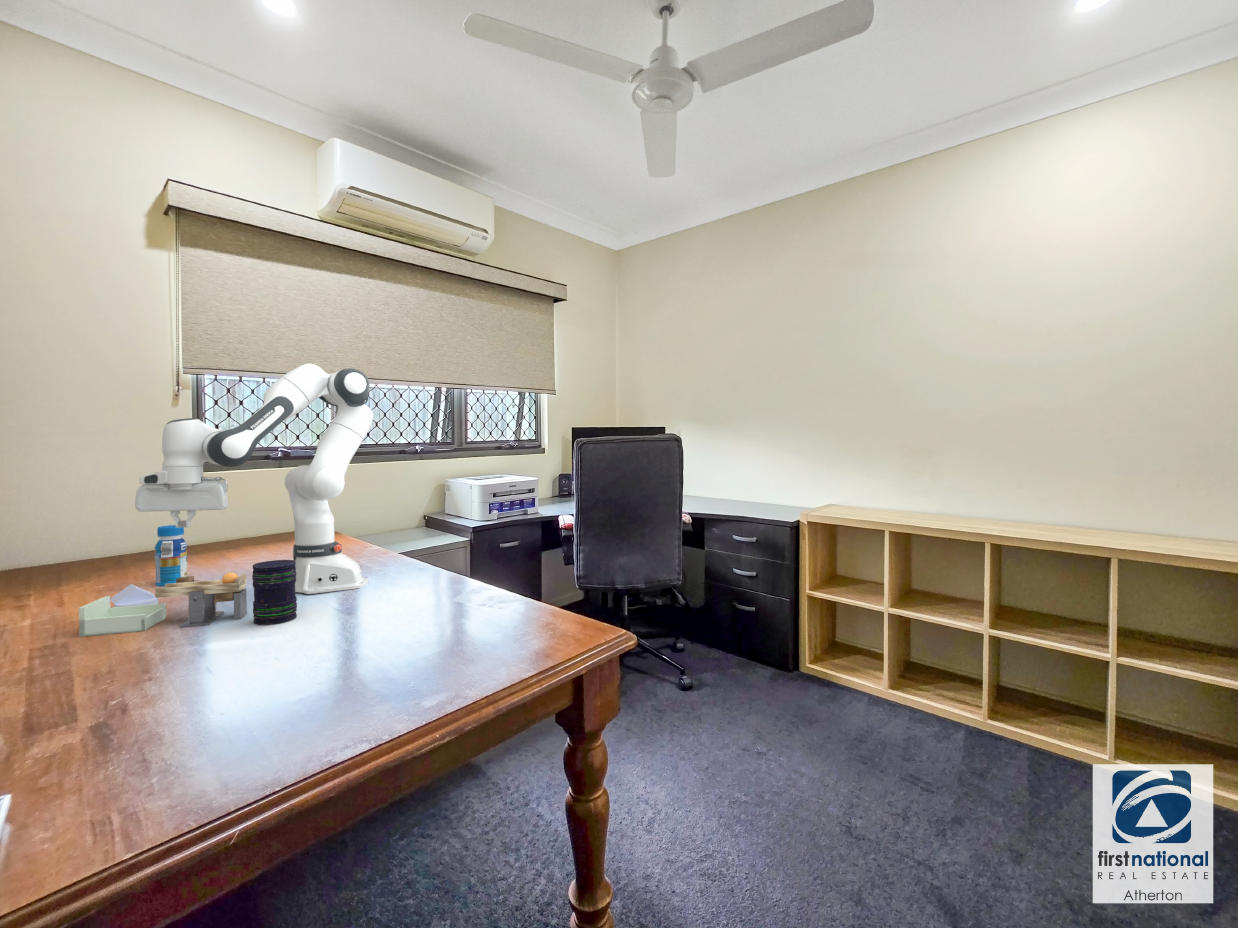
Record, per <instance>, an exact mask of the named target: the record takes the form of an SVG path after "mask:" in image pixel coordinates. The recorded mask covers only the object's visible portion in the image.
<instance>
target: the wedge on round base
mask: <svg viewBox="0 0 1238 928" xmlns="http://www.w3.org/2000/svg"><path fill="white" fill-rule="evenodd" d="M110 602H112V603H113V607H123V606H135V605H148V604H159V598H155V594H154V593H153V592H152V591H148V590H147V589H144V588H141V587H139V586H136V585H135V584H132V583H131V584H128V585H127V586H126V587H124V588H123V589H122V590H120V591H119V592H118V593H116V594H115V595H113V596H112V597H110Z"/></svg>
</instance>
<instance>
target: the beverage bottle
mask: <svg viewBox="0 0 1238 928" xmlns="http://www.w3.org/2000/svg"><path fill="white" fill-rule="evenodd" d="M156 529H157V533H156V534H157V537H158V538H159V539H158V540H157V542H156V543H155V545H154V550H155V554H154V563H155V586H156V587H165V584H170V583H176V579H178V578H180V577H188V555H189V554H188V553H189V552H188V550H187V547H188V544H187V542H186V540H185V539H184V538H183V536H184V535H185V527H180V528H176V524H172V525H171V524H169V525H162V526H161V525H160V526H158V527H157V528H156Z"/></svg>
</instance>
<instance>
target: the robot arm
mask: <svg viewBox="0 0 1238 928" xmlns="http://www.w3.org/2000/svg"><path fill="white" fill-rule="evenodd" d="M369 391H370V381H369V378H368V376H367V375H366V374H365V373H364V372H363V371H362V370H360V369H356V368H351V367H349V368H343V369H340V370H337V371H336V372H333V373H327V372H326V371H325V370H324V369H322V368H321V367H320V366H318V365H317V364H313V363H305V364H302V365H300V366H297V367H295V368H294V369H292V370H290V371H288V372H287V373H285V374H284V375H282V376H281V377H280V378H278V379H277V380H276V381H274V382H273V383H272V384H271V385H270V386H269V387H268V388H267V389H266V391H265V392H264V393H263V404H262V406H261V407H260V408H259V409H258V410H257V411H256V412H255V413H253V414H252V415H251V416H249V417H248V418H247V419H246V420H244V421H243V422H242V423H241V424H239V425H238V426H236V427H234V428H231V429H226V430H222V429H218V428H216V427H213V426H211V425H209V424H207V423H206V422H203V421H202V420H200V419H199V418H195V417H192V418H190V417H188V418H181V419H179V418H178V419H173V420H169V421H168V422H167V423H165V425H164V427H163V431H162V437H161V438H162V441H161V452H162V454H163V462H162V465H161V470H160V471H157V472H153V473H149V474H145V475H142V476H140V477H139V479H138V481H139V483H140V484H141V485H140V486H139V487H138V488H137V490H136V494H135V503H134V507H135V509H136V510H137V511H138V512H140V513H143V512H145V513H146V512H147V513H148V512H170V513H169V515H170V517H171V518H172V520H173V521H174V522H175V525H176V528H180V527H184V528H191V526H192V520H193V519H194V517H195V516H196V515H197V511H221V510H225V509H227V508H228V507H229V498H228V492H227V491H228V489H229V484H228V481H227V480H226V479H225V478H223V477H222V476H204V464H205V463H210V464H214V465H219V466H222V467H227V468H235V467H239V466H241V465H243V464H245V463H246V462H248V461H249V460H250V458H251V457H252V456H253V454H254V452H255V450H256V447H257V445H258V444H259V443H260V441H262V440H263V439H264V438H265V437H266V436H267V435H268V434H270V433H271V432H272V431H273V430H274V429H276V427H278V426H279V425H281V423H282V422H284V421H286V420H288V419H290V418H291V417H293V416H295V415H297V414H298V413H300V412H302V411H303V410H305V409H306V408H307V407H308V406H309V405H311V404H312V403H313V402H314V401H316V400H317V399H319V400H322V401H323V402H324V403H326V404H328V405H330V406H331V407H332V406H333V407H337V412H336V415H335V417H334V418H333V420H331V422H330V424H329V425H328V426H327V429H326V430H325V431H324V432H323V434H322V435H321V437H320V439H319V440H318V442H317V443H316V447H317V448H316V452H315V454H314V457H313V458H312V461H311V463H310V464H303V465H299V466H296V467H294V468H293V469H291V470H289V471H288V472H287V474H286V475H285V477H284V487H285V489H286V490H287V492H288V497H289V501H290V506H291V510H292V514H293V523H294V544H293V548H292V560H294V561H296V565H295V566H296V583H295V593H300V594H301V593H302V594H305V595H312V594H314V595H315V594H321V593H322V594H323V593H329V592H330V593H331V592H337V591H346V590H355V589H356V590H357V589H360V588H363V586H364V585H365V586H367V585H368V584H369V582H368V581H370V579H369V577H367V576H365V575H364V576H363V575H362V571H361V570H362V569H361V566H360V564H359V563H358V562H357V561H356V560H354V559H352V558H351V557H349V556H347V555H346V554H344V553H342V550H343V548H342V547H343V546H342V545H343V544H342V543H341V542H338V541H336V540H335V517H334V514H333V513H332V511H331V507H330V505H329V502H328V500H332V499H334V498H337V497H338V496H339V495H341V494H342V492H343V491H344V489H345V485H346V484H345V483H346V482H345V481H346V480H345V477H346V474H347V472H348V471H347V470H348V469H349V465H350V463H351V461H352V458H353V457H354V456H355V454H356V452H357V451H358V449H359V448H360V446H361V444H362V443H363V441H364V439H365V438H366V436H367V434H368V432H369V430H370V428H371V425H372V423H373V420H374V413H373V410H372V409H371V408H370V407H369V406H368V405H366V404H367V403H368V402H369ZM181 511H182V512H183V511H185V512H186V515H187V517H186V519H185V520H182V519H181V517H180V516H179V515H180V514H181ZM365 577H367V578H365ZM366 584H367V585H366ZM365 586H364V587H365Z"/></svg>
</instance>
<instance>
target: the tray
mask: <svg viewBox="0 0 1238 928" xmlns="http://www.w3.org/2000/svg"><path fill="white" fill-rule="evenodd" d="M110 598H111V595H107V596H106V595H105V596H103V597H100V598H98V599H96V600H94V601H91V602H89V603H86V604H85V605H83V606H82V605H81V606H80V607H78V621H79V623H78V624H79V627H78V629H79V630H78V632H79V638H81V637H92V636H102V635H103V636H104V635H111V634H112V635H114V634H116V635H117V634H125V633H137V632H145V631H148V630H149V629H150V628H152V627H154V626H155V625H157V624H158V623H160V622H162V621H163V620H165V619H166V618H167V614H166V612H167V611H166V609H167V607H166V602H163V603H158V604H148V605H135V606H123V607H114V606H112V607H111V600H110Z"/></svg>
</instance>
